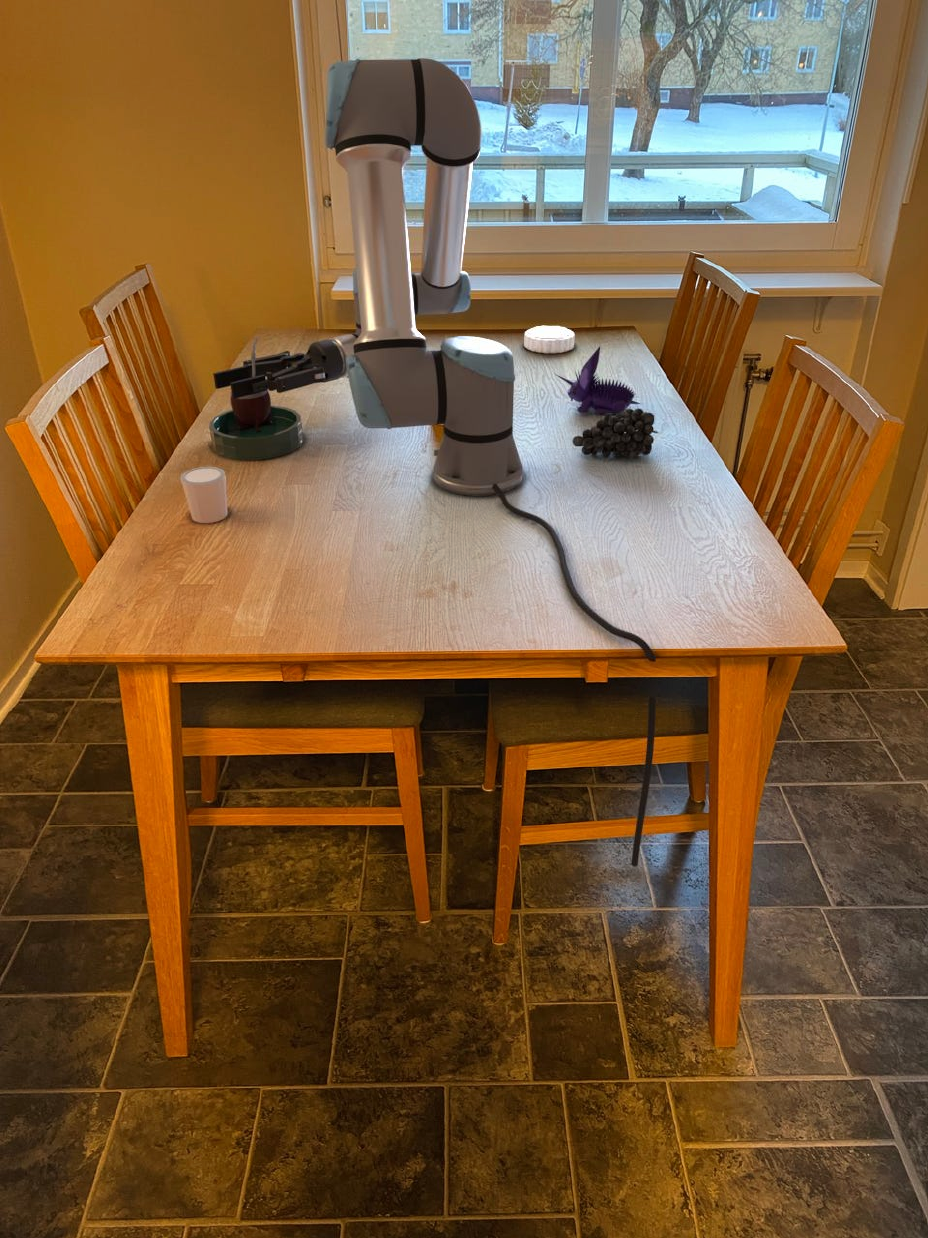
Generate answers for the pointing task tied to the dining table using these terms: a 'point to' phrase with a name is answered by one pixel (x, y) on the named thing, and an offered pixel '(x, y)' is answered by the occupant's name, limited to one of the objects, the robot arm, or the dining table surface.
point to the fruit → (619, 435)
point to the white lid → (549, 339)
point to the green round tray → (257, 436)
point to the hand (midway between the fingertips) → (223, 385)
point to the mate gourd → (252, 406)
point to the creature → (598, 391)
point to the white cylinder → (205, 493)
